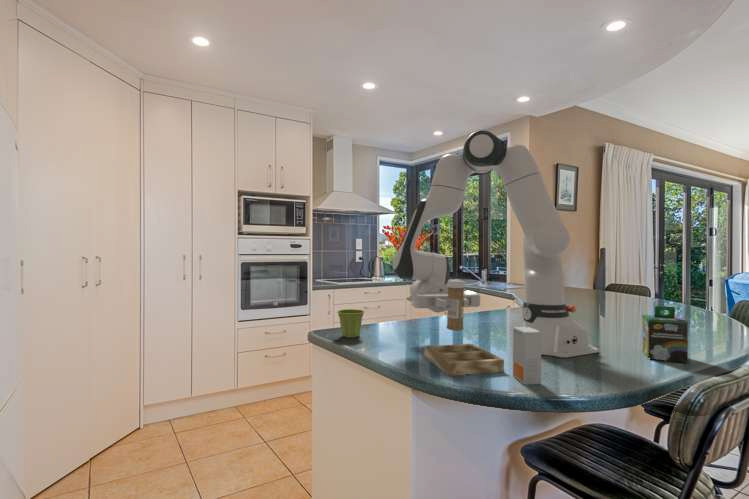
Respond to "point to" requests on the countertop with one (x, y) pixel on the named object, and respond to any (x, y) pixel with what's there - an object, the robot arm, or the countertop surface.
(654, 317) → the chalk box
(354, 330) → the plant pot
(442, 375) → the countertop surface
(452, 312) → the sprinkles bottle
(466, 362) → the wooden compartment tray
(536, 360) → the skincare box
